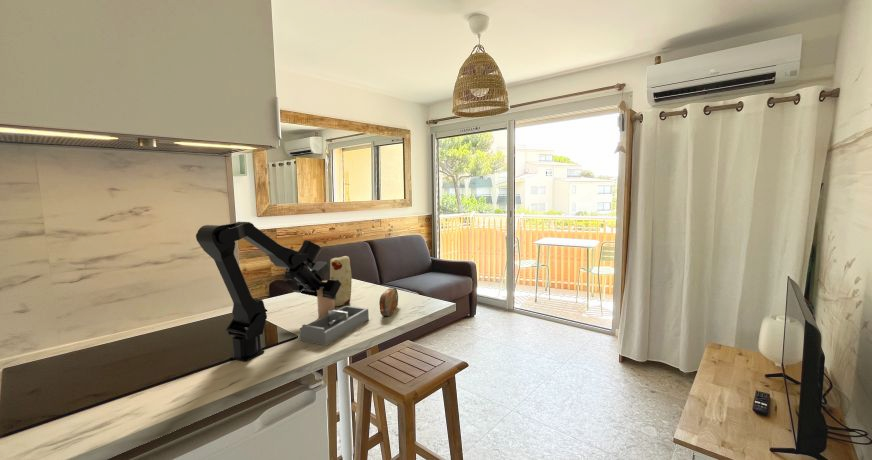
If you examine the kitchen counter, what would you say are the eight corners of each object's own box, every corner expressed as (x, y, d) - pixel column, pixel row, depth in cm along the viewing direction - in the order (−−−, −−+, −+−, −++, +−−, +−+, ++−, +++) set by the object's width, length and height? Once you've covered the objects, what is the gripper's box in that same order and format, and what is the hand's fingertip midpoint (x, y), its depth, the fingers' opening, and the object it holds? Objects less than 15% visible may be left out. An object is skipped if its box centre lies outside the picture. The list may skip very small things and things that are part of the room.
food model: (338, 309, 143) (335, 259, 140) (327, 306, 146) (324, 257, 144) (356, 302, 151) (354, 255, 148) (345, 299, 154) (343, 253, 152)
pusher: (339, 331, 118) (338, 317, 117) (321, 328, 121) (320, 314, 120) (348, 325, 122) (347, 311, 122) (330, 322, 125) (330, 309, 125)
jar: (328, 321, 130) (326, 285, 128) (314, 318, 132) (312, 284, 131) (339, 315, 136) (337, 281, 134) (325, 313, 138) (324, 280, 137)
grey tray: (325, 345, 110) (325, 329, 109) (300, 340, 114) (299, 325, 113) (368, 319, 131) (368, 306, 130) (346, 315, 135) (345, 302, 134)
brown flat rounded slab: (386, 319, 131) (385, 296, 130) (378, 319, 131) (377, 296, 130) (399, 305, 145) (398, 285, 144) (391, 305, 146) (391, 285, 145)
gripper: (336, 257, 124) (357, 281, 135) (296, 253, 132) (319, 276, 143) (321, 285, 118) (344, 308, 129) (279, 280, 126) (305, 301, 137)
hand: (328, 297), depth 134 cm, fingers closed on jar, 6 cm apart
